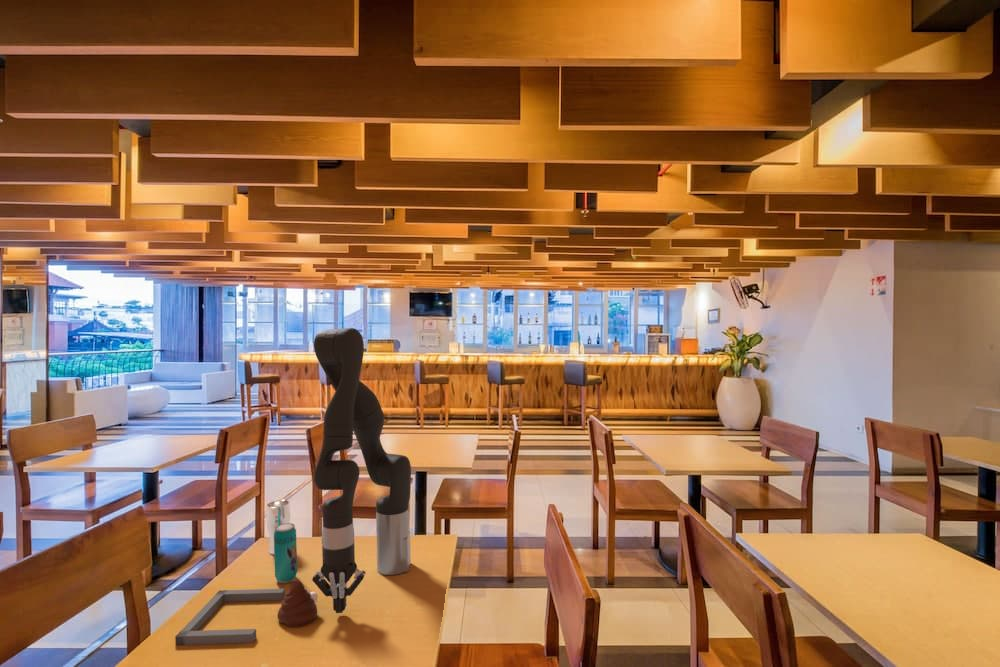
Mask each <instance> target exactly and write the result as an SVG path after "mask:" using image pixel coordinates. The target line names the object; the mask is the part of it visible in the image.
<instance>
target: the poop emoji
mask: <svg viewBox="0 0 1000 667" xmlns="http://www.w3.org/2000/svg"><path fill="white" fill-rule="evenodd" d="M291 582H292V584H291V586H290V588H289V591H287V592H285V597H284V599H283V600H282V603H281V604H280V605H281V606H280V608H279V609H278V611H277V620H278V621H279V622H280V623H283V624H285V625H287V626H289V627H291V628H292V627H293V628H301V627H304V626H307V625H309V624H311V623H312V622H313V621H314V620H315V619H316V618H317V616H318V608H317V605H316V602H317V601H318V594H317V592H315V591H311V592H310V591H309V590H308V588H305V586H304V584H303V582H302V581H301V580H299V579H297V578H295V579H294V580H293V581H291Z"/></svg>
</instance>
